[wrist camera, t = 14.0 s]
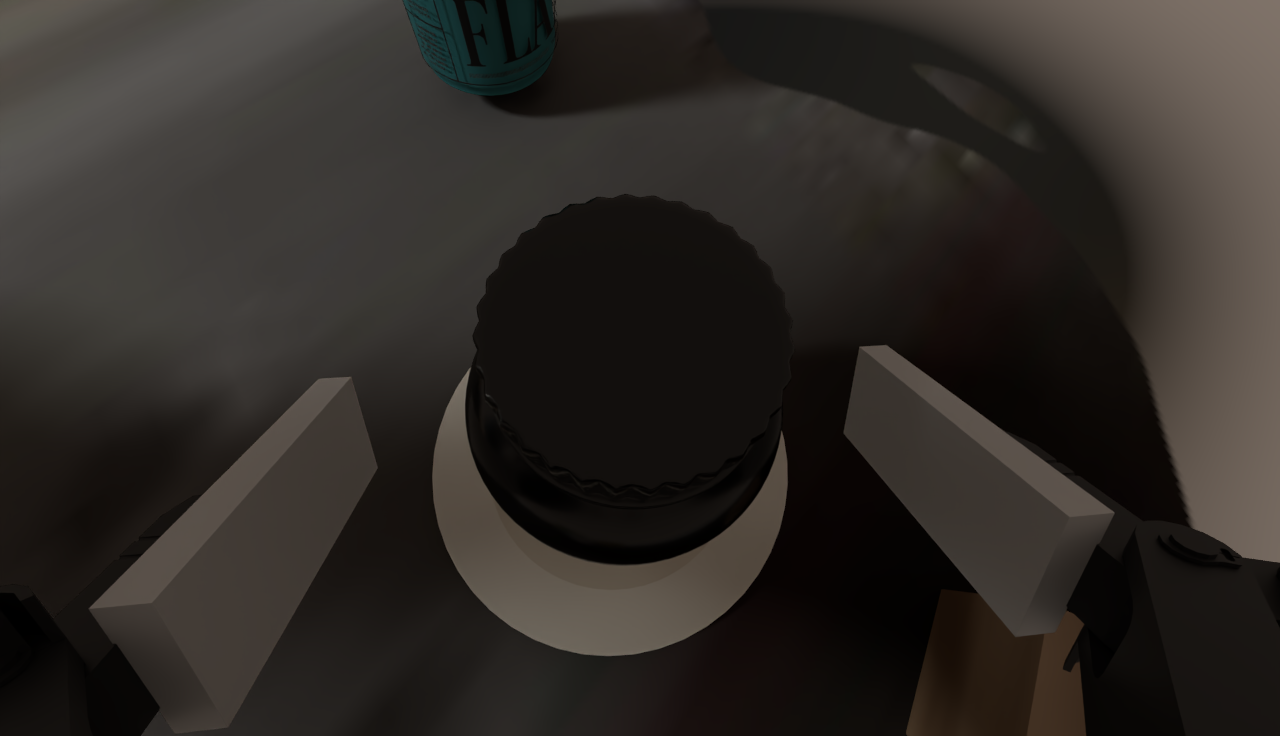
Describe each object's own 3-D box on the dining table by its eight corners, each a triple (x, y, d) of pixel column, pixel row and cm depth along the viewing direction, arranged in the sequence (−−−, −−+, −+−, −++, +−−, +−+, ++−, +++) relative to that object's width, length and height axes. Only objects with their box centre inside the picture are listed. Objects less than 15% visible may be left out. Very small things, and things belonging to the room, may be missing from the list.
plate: (366, 455, 19) (355, 451, 18) (619, 251, 23) (620, 240, 22) (605, 744, 17) (605, 755, 16) (847, 465, 20) (857, 462, 19)
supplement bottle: (645, 339, 20) (695, 83, 9) (746, 488, 19) (960, 399, 8) (489, 429, 19) (317, 254, 8) (584, 599, 17) (547, 701, 6)
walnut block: (904, 733, 17) (1014, 802, 13) (940, 588, 19) (1050, 602, 14) (1046, 806, 17) (1216, 906, 12) (1070, 652, 19) (1228, 688, 14)
